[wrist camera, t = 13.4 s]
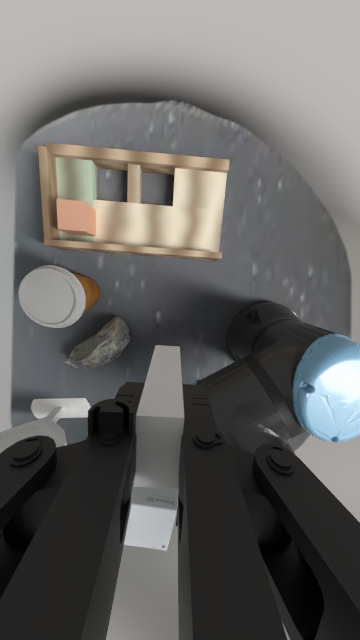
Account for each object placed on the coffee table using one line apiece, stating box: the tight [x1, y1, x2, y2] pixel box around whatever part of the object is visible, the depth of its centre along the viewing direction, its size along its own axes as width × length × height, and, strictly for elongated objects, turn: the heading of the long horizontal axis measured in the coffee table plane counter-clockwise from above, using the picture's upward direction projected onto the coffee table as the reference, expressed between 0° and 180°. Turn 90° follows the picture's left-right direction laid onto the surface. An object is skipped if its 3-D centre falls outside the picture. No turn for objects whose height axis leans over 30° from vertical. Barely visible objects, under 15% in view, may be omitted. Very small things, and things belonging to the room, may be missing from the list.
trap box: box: [38, 142, 229, 261], centre depth 36 cm, size 30×16×6 cm, turn 86°
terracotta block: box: [56, 199, 96, 236], centre depth 34 cm, size 4×4×4 cm
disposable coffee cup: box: [18, 265, 100, 328], centre depth 36 cm, size 10×10×12 cm
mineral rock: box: [64, 317, 132, 369], centre depth 39 cm, size 13×11×10 cm
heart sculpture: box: [0, 398, 91, 453], centre depth 38 cm, size 16×5×18 cm, turn 90°
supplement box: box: [124, 482, 177, 551], centre depth 42 cm, size 10×9×17 cm
